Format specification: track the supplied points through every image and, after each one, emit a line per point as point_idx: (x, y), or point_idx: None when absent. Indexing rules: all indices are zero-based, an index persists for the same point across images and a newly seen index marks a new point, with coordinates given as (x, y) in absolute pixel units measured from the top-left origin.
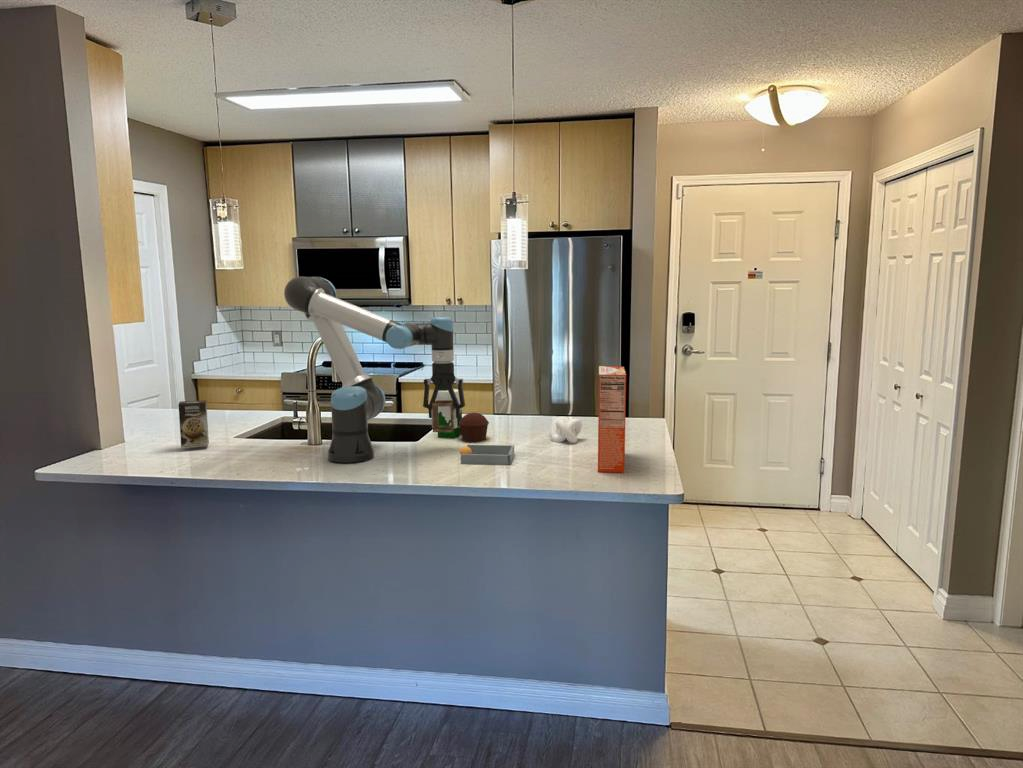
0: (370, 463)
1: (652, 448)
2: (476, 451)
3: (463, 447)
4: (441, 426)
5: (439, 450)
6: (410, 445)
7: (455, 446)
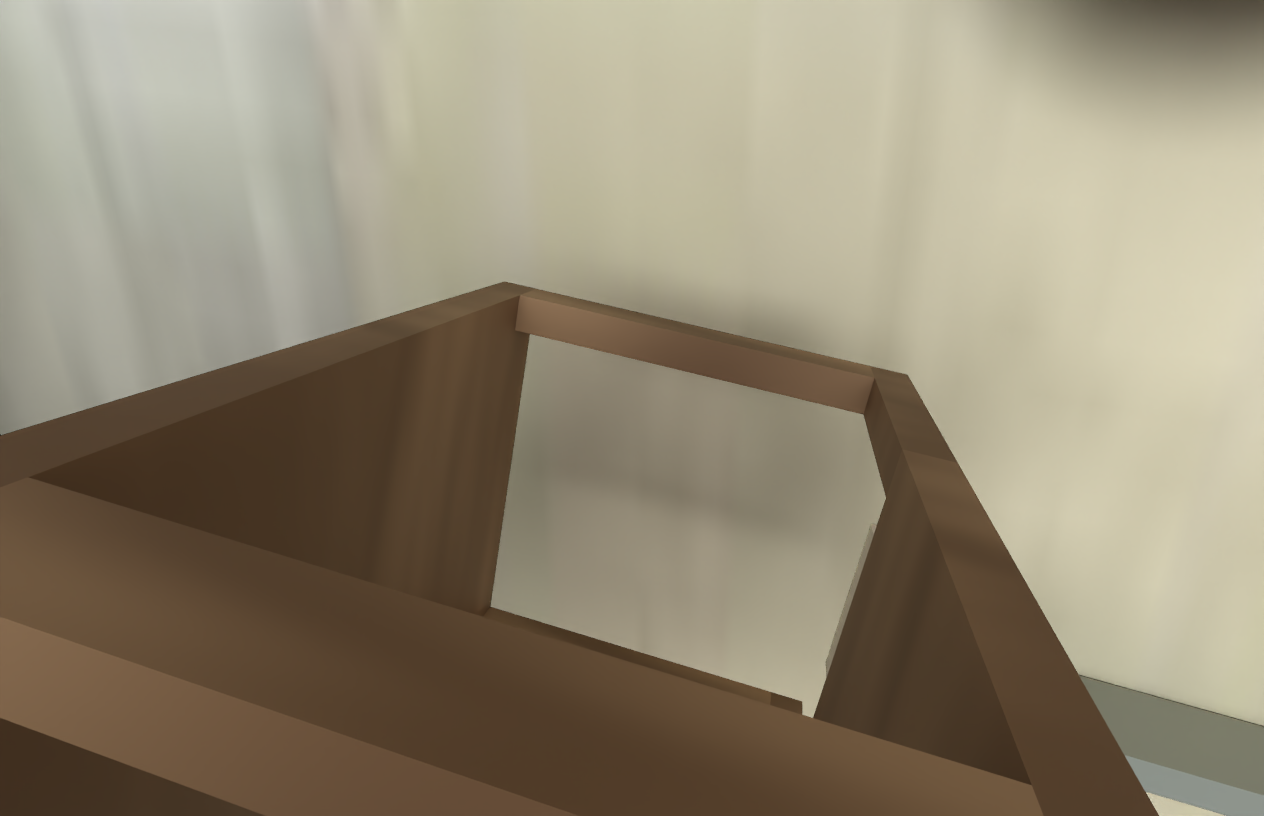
0: None
1: None
2: None
3: None
4: (581, 343)
5: (630, 439)
6: (260, 107)
7: (854, 246)
